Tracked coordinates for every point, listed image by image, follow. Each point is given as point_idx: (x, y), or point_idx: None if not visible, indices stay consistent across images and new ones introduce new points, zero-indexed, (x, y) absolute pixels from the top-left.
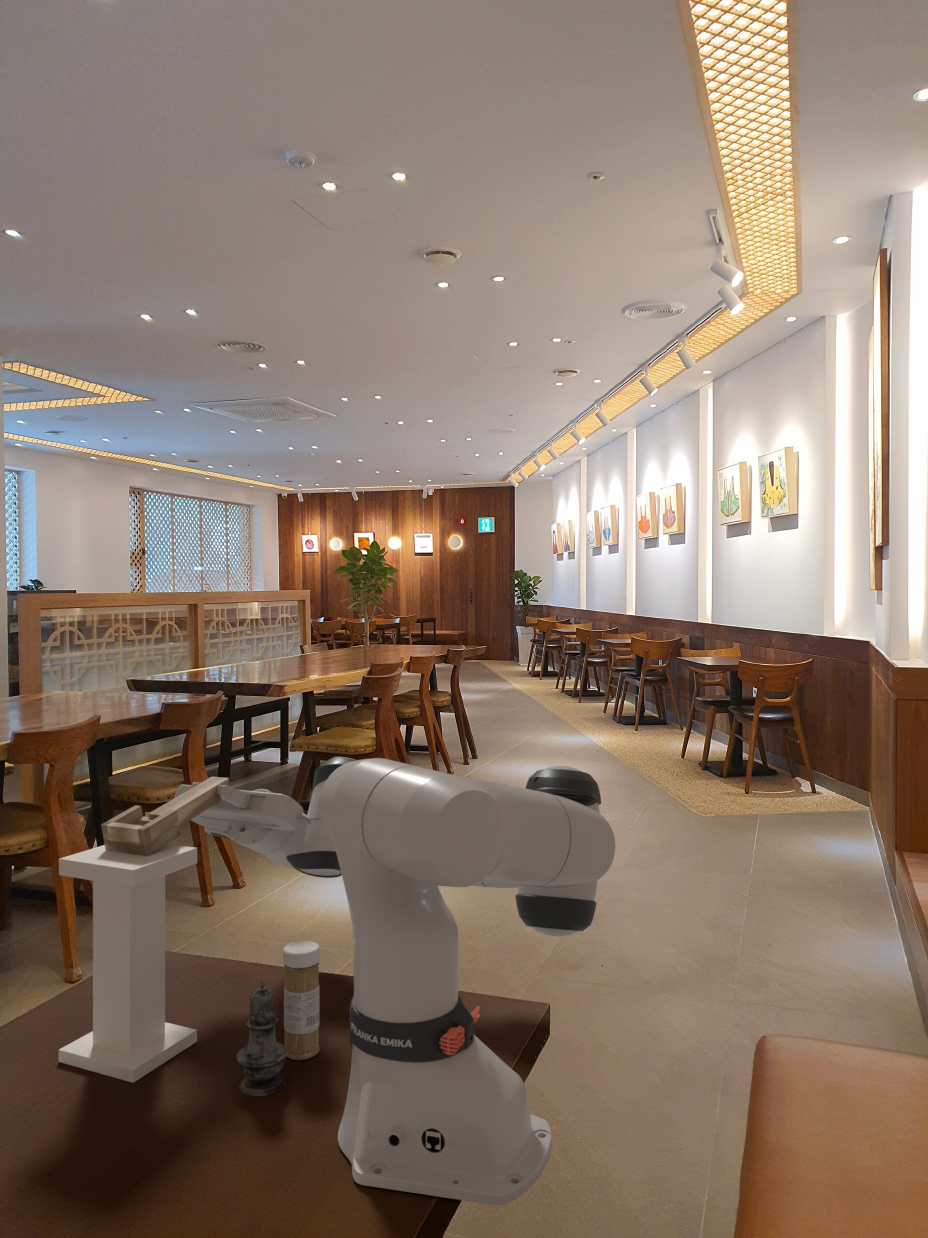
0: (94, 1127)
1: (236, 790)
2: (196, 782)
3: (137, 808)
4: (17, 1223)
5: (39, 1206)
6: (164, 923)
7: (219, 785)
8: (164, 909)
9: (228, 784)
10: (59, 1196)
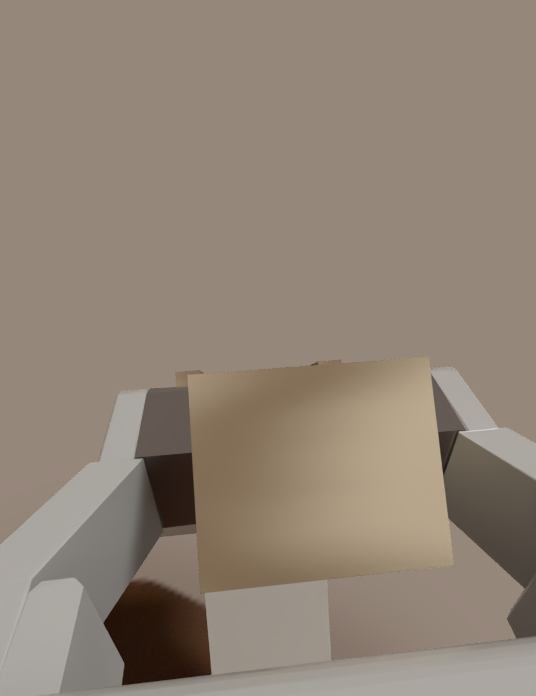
0: (169, 669)
1: (63, 490)
2: (430, 369)
3: (314, 363)
4: (141, 579)
5: (137, 592)
6: (209, 646)
7: (185, 387)
8: (206, 612)
9: (192, 445)
10: (129, 603)
